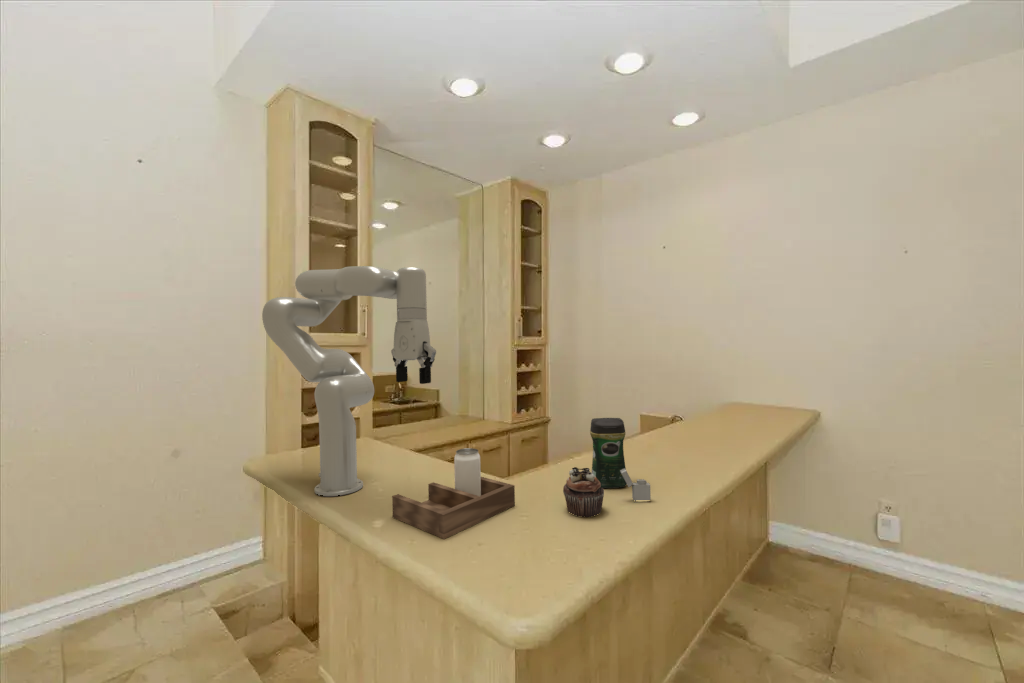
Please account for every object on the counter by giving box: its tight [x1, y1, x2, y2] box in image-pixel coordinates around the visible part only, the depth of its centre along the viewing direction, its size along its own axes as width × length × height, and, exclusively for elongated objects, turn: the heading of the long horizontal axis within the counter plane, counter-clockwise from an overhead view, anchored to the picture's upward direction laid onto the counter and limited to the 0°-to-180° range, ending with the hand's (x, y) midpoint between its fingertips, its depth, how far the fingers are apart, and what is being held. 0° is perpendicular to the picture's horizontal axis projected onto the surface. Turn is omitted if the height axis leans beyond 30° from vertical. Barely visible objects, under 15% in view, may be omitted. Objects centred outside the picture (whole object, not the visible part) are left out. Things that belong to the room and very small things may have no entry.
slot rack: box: [391, 476, 516, 540], centre depth 104 cm, size 18×23×5 cm
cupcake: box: [562, 466, 605, 518], centre depth 103 cm, size 10×10×10 cm
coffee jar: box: [589, 417, 628, 489], centre depth 121 cm, size 10×8×19 cm
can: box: [453, 447, 482, 496], centre depth 109 cm, size 6×6×12 cm
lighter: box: [620, 468, 652, 501], centre depth 109 cm, size 7×2×8 cm, turn 87°
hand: (413, 382), depth 112 cm, fingers open, 9 cm apart
